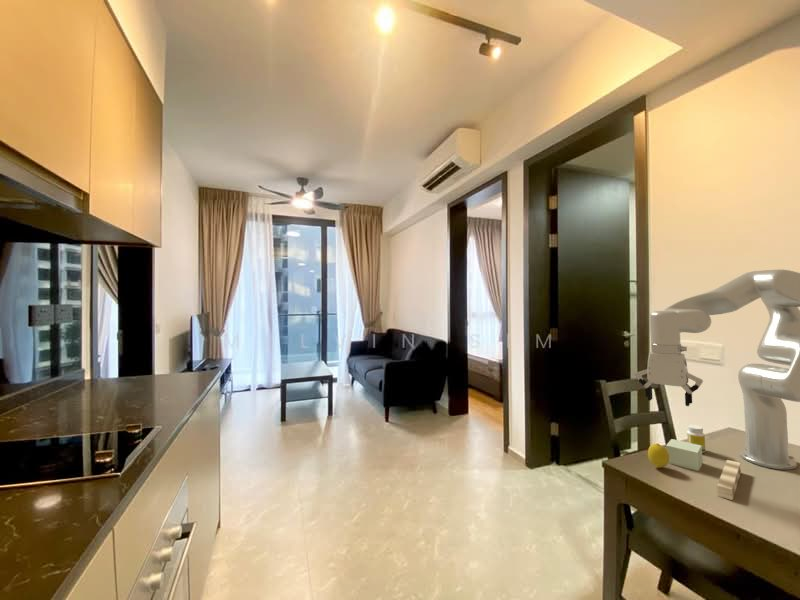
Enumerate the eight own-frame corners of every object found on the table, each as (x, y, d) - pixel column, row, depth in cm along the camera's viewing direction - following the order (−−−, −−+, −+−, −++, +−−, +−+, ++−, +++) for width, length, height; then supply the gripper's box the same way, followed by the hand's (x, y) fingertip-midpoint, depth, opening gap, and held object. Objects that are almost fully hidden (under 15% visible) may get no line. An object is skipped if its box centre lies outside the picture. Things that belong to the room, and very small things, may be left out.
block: (672, 455, 119) (671, 438, 119) (702, 463, 113) (701, 445, 113) (667, 463, 115) (666, 445, 114) (698, 471, 108) (697, 452, 108)
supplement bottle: (709, 452, 119) (708, 428, 119) (695, 453, 119) (694, 429, 119) (697, 446, 124) (695, 423, 124) (684, 447, 124) (683, 424, 124)
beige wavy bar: (727, 469, 108) (727, 459, 108) (740, 472, 106) (740, 463, 106) (717, 495, 95) (717, 485, 95) (732, 500, 93) (732, 489, 93)
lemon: (673, 470, 110) (672, 445, 110) (661, 473, 108) (660, 448, 108) (656, 462, 115) (655, 438, 115) (644, 465, 113) (643, 441, 113)
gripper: (702, 349, 106) (705, 404, 106) (636, 345, 119) (639, 394, 119) (699, 353, 101) (702, 410, 101) (631, 349, 114) (633, 400, 114)
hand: (668, 402), depth 110 cm, fingers open, 9 cm apart
